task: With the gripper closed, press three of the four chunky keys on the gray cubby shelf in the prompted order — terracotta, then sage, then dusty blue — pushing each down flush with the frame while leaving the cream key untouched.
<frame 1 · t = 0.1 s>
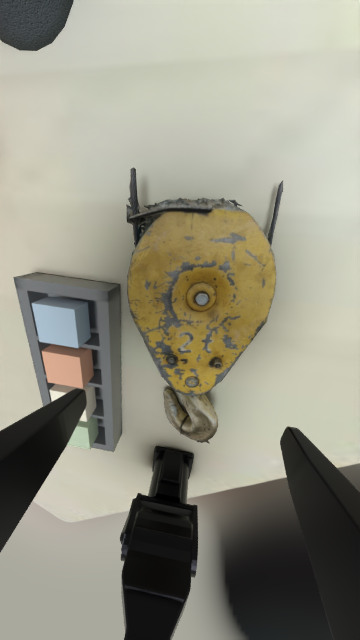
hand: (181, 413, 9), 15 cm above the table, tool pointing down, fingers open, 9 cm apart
key cream: (74, 399, 26), point 3 cm above the table, slide at 0.0 cm
pulley block: (193, 330, 24), on the table
gray cubby shelf: (86, 366, 27), on the table
key terracotta: (69, 364, 23), point 3 cm above the table, slide at 0.0 cm
key sage: (78, 428, 28), point 3 cm above the table, slide at 0.0 cm
key blue: (63, 321, 21), point 3 cm above the table, slide at 0.0 cm
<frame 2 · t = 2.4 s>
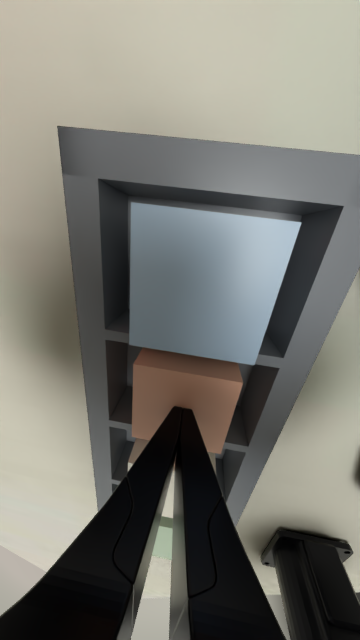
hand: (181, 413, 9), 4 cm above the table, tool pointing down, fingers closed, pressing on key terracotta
key cream: (171, 471, 11), point 3 cm above the table, slide at 0.0 cm
gray cubby shelf: (182, 395, 13), on the table
key terracotta: (183, 393, 10), point 3 cm above the table, slide at 0.5 cm, touching gripper
key sage: (163, 518, 14), point 3 cm above the table, slide at 0.0 cm
key blue: (201, 285, 7), point 3 cm above the table, slide at 0.0 cm
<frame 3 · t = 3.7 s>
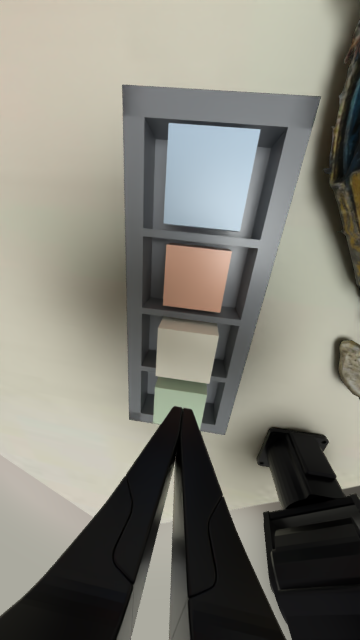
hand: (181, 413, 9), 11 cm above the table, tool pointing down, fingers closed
key cream: (186, 348, 16), point 3 cm above the table, slide at 0.0 cm
gray cubby shelf: (192, 303, 18), on the table
key terracotta: (195, 277, 15), point 2 cm above the table, slide at 1.5 cm
key sage: (179, 399, 18), point 3 cm above the table, slide at 0.0 cm
key blue: (206, 186, 11), point 3 cm above the table, slide at 0.0 cm
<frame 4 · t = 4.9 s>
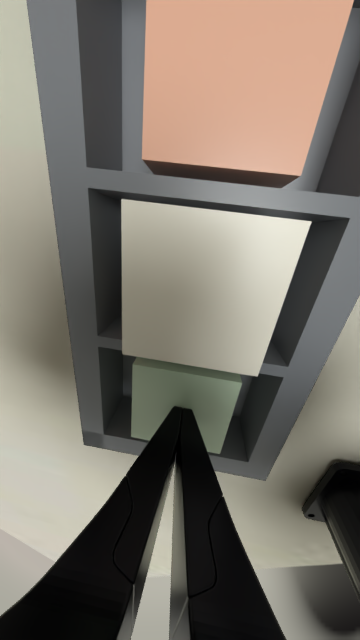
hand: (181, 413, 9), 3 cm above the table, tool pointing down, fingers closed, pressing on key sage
key cream: (199, 289, 6), point 3 cm above the table, slide at 0.0 cm
gray cubby shelf: (211, 206, 8), on the table
key terracotta: (231, 87, 6), point 2 cm above the table, slide at 1.5 cm
key sage: (182, 393, 10), point 2 cm above the table, slide at 1.1 cm, touching gripper
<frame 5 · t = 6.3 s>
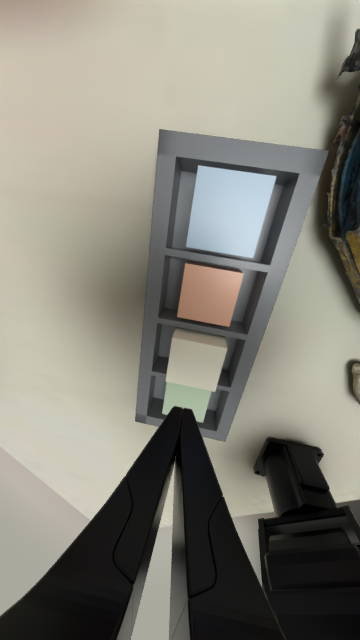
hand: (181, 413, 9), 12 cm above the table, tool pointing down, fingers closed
key cream: (195, 358, 17), point 3 cm above the table, slide at 0.0 cm
gray cubby shelf: (202, 316, 19), on the table
key terracotta: (208, 292, 16), point 2 cm above the table, slide at 1.5 cm
key sage: (186, 394, 21), point 2 cm above the table, slide at 1.5 cm
key blue: (225, 216, 13), point 3 cm above the table, slide at 0.0 cm
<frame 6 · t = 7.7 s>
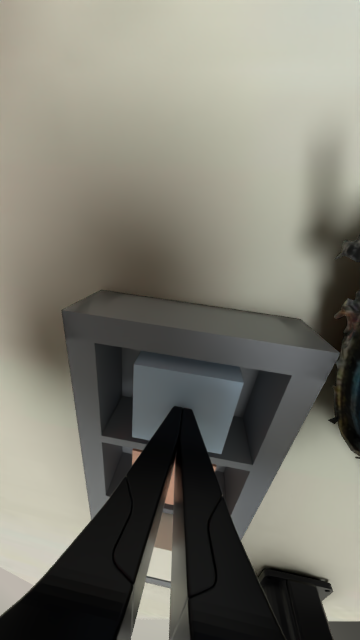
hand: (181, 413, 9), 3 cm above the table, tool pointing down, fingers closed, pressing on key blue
key cream: (161, 536, 13), point 3 cm above the table, slide at 0.0 cm
gray cubby shelf: (172, 459, 15), on the table
key terracotta: (173, 460, 12), point 2 cm above the table, slide at 1.5 cm
key blue: (183, 393, 10), point 2 cm above the table, slide at 1.4 cm, touching gripper
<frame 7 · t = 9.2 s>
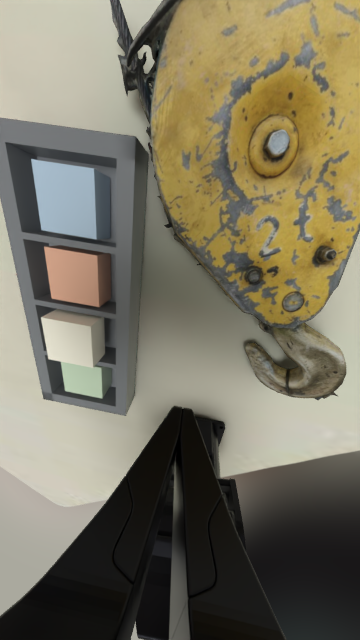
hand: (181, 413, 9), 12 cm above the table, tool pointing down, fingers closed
key cream: (76, 337, 18), point 3 cm above the table, slide at 0.0 cm
pulley block: (260, 245, 17), on the table
gray cubby shelf: (92, 298, 20), on the table
key terracotta: (81, 275, 17), point 2 cm above the table, slide at 1.5 cm
key sage: (88, 372, 22), point 2 cm above the table, slide at 1.5 cm
key blue: (75, 203, 15), point 2 cm above the table, slide at 1.5 cm
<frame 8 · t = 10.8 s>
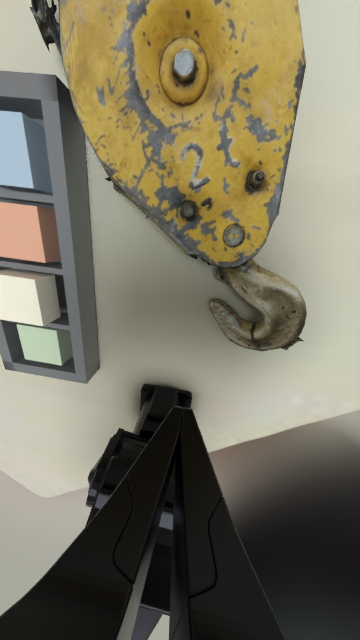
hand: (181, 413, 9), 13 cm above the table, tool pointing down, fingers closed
key cream: (27, 296, 19), point 3 cm above the table, slide at 0.0 cm
pulley block: (208, 194, 17), on the table
gray cubby shelf: (47, 262, 20), on the table
key terracotta: (28, 233, 18), point 2 cm above the table, slide at 1.5 cm
key sage: (48, 340, 22), point 2 cm above the table, slide at 1.5 cm
key blue: (14, 156, 15), point 2 cm above the table, slide at 1.5 cm
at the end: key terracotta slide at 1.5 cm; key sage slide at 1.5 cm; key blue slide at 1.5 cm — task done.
